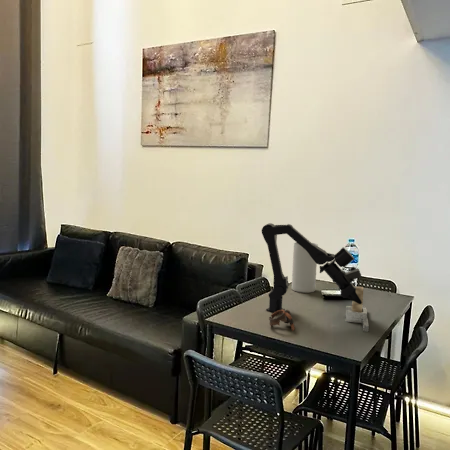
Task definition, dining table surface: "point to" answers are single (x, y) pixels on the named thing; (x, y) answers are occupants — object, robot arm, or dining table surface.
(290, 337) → the dining table surface
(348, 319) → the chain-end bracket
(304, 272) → the cylinder vase
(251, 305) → the dining table surface
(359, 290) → the beech pin
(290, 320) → the brown curled piece
